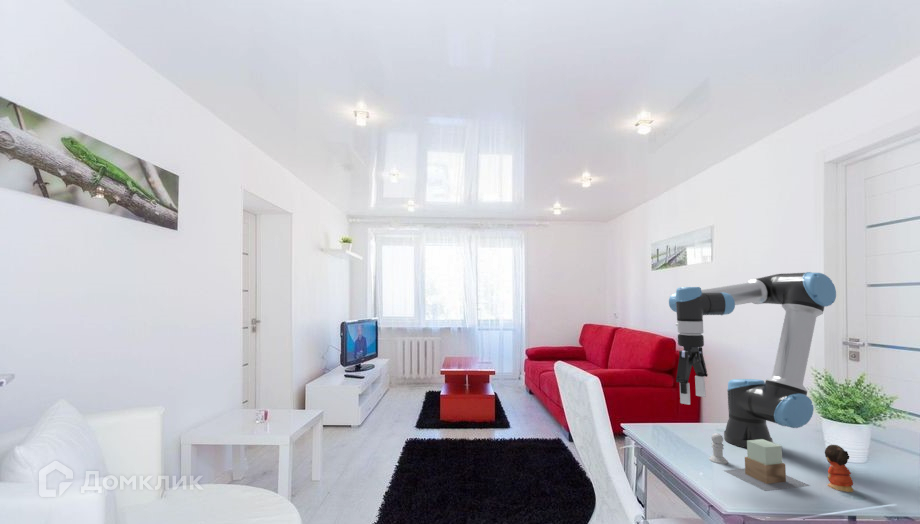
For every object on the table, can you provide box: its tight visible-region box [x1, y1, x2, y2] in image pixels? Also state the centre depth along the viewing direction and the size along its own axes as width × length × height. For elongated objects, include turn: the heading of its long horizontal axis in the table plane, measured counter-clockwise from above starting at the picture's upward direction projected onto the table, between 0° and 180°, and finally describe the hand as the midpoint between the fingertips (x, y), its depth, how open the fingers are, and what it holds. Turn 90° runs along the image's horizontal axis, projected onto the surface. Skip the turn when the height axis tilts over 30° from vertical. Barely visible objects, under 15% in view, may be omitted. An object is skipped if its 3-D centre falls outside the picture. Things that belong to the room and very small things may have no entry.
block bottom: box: [744, 456, 787, 484], centre depth 129 cm, size 7×7×5 cm
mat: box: [723, 467, 811, 492], centre depth 128 cm, size 16×14×1 cm
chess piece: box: [708, 432, 729, 465], centre depth 141 cm, size 5×5×9 cm
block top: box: [746, 439, 783, 465], centre depth 129 cm, size 6×6×5 cm
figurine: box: [824, 444, 855, 493], centre depth 123 cm, size 6×6×12 cm
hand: (693, 400), depth 140 cm, fingers open, 13 cm apart
